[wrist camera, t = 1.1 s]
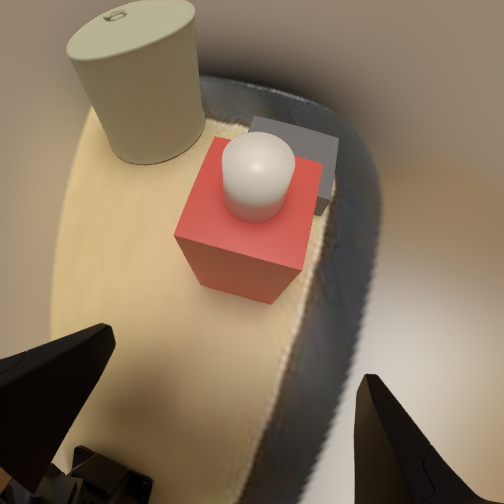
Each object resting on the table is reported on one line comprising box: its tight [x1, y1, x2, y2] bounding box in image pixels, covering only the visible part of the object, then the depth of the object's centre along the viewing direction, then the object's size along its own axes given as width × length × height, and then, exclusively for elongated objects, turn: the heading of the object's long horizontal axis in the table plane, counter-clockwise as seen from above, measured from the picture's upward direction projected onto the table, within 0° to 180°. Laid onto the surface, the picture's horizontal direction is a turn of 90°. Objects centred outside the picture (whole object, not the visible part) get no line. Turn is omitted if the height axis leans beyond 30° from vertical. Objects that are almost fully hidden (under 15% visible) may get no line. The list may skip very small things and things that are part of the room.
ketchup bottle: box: [174, 132, 323, 304], centre depth 15 cm, size 5×5×12 cm
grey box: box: [248, 116, 339, 216], centre depth 22 cm, size 6×7×3 cm
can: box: [66, 0, 205, 165], centre depth 18 cm, size 9×9×12 cm
